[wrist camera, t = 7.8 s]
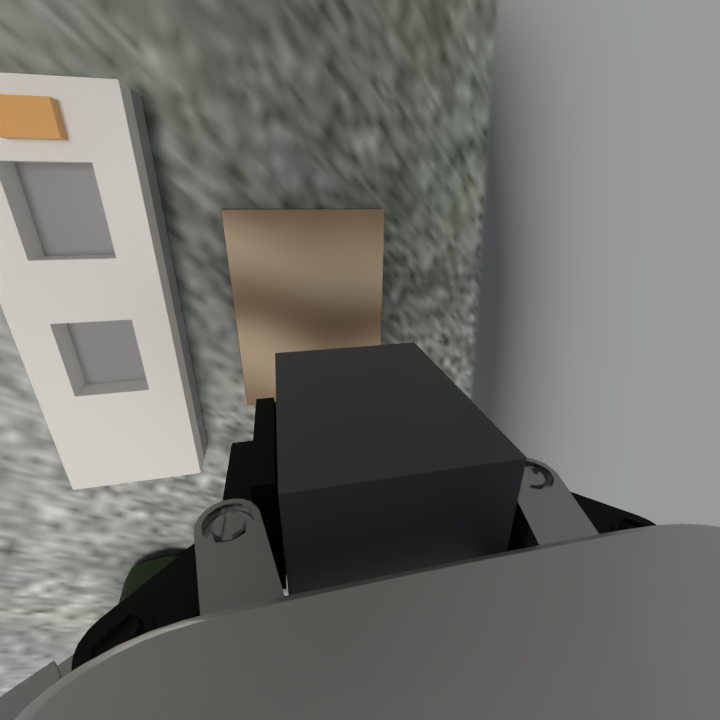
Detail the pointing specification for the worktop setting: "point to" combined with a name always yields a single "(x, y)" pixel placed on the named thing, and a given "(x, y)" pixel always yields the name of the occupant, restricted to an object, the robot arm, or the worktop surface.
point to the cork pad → (302, 284)
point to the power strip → (94, 281)
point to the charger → (385, 467)
